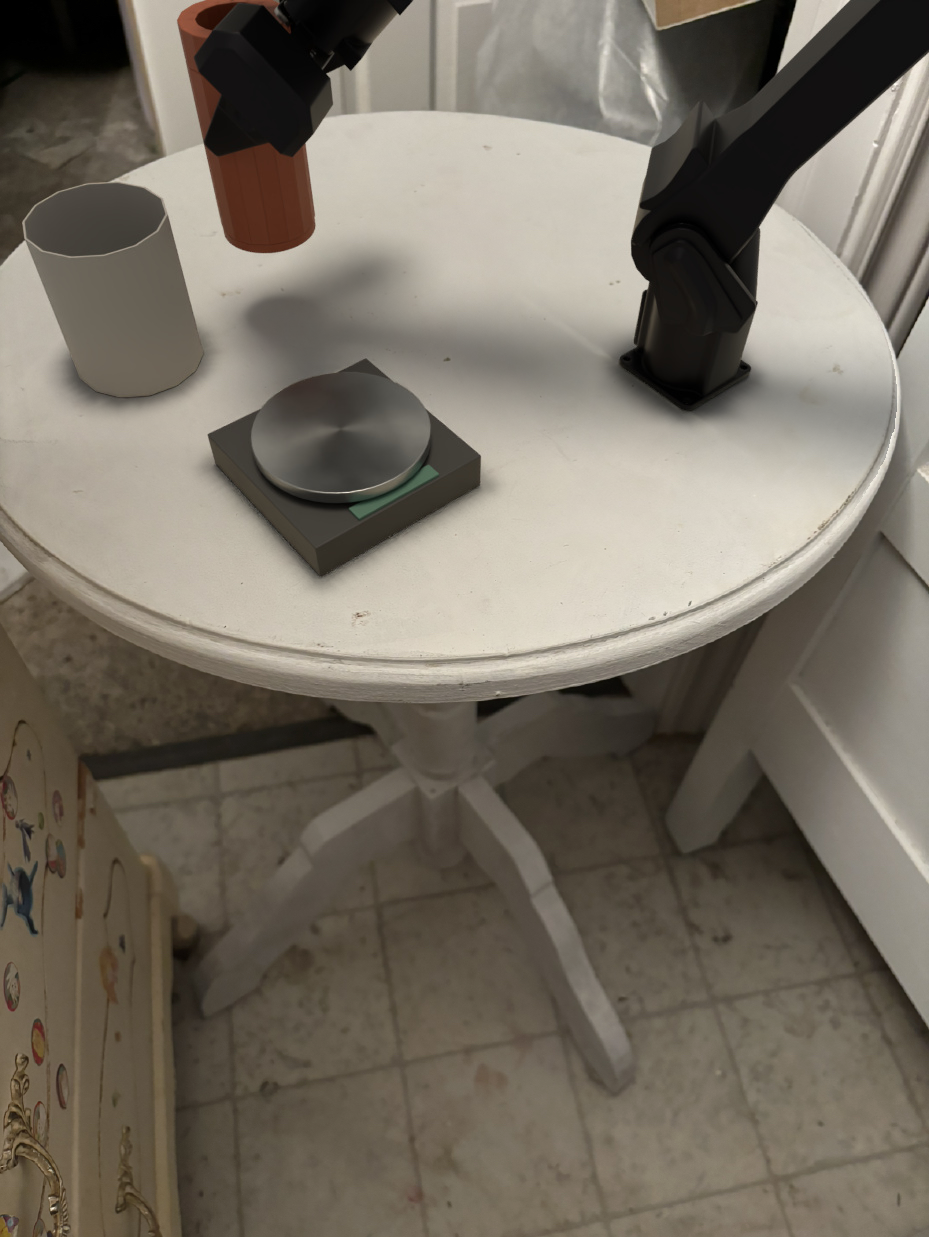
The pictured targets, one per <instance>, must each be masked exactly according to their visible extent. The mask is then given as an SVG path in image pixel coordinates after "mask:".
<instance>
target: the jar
mask: <svg viewBox="0 0 929 1237" xmlns="http://www.w3.org/2000/svg"><path fill="white" fill-rule="evenodd" d="M238 3H247V4H258V5H264V6H265V8H266V9H267V10H268V11H269V12H270V13H271V14H272V15H273V16H274V17H275V18H276V20H277V21H278V22H279V23H280V24H281V25H282V26H283V27H284V28H285V29H286V30H287V32H288V33H289V34H290V33H291V30H290V26H289V27H287V26H286V25H285V24H284V23H283V22H282V21H281V20H280V19H279V18H278V17H277V16H276V14H275V12H274V10H275V9H276V7H277V6H278V5H279V4H280V3H279V1H278V2H277V1H276V0H201V1H199V2H194V3H192V4H191V5H190V6H188V7H186V8H185V9H183V10H182V11H180V13H179V15H178V17H177V19H176V24H177V27H178V32H179V36H180V42H181V46H182V51H183V55H184V59H185V65H186V70H187V74H188V78H189V83H190V88H191V92H192V97H193V101H194V106H195V110H196V114H197V115H196V116H197V119H198V124H199V129H200V133H201V138H202V143H204V138H205V136H206V133H207V130H208V128H209V125H210V122H211V120H212V117H213V114H214V112H215V109H216V106H217V103H218V101H219V98H220V95H221V94H220V93H219V92H218V91H217V90H216V89H215V88H214V87H213V86H212V85H211V84H210V83H209V82H208V81H207V80H206V79H205V78H204V77H203V76H202V75H201V74H200V73H199V72H198V69H197V66H196V63H195V60H194V56H195V54H196V53H197V52H198V50H199V49H200V47H201V46H202V45H203V43H204V42H205V40H206V39H207V38H208V36H209V35H210V33H211V32H212V31H213V29H214V28H215V27H216V26H217V25H218V24H219V23H220V22H221V21H222V20H223V19H224V18H225V16H226V15H227V14H228V13H229V12H230V11H231V10H232V9H233V8H234V7H235V6H236V5H237V4H238ZM306 143H307V142H306ZM306 143H305V144H304V145H303V146H302V147H301V149H300V150H299V151H298V152H297V153H296V154H295V155H294V156H293V157H289V156H286V155H282V154H280V153H279V152H278V151H277V150H276V149H275V148H274V147H273V146H272V145H271V144H270V143H267V144H263V145H259V146H255V147H252V148H248V149H245V150H241V151H238V152H234V153H231V154H227V155H224V156H220V157H217V156H215V155H214V154H213V153H212V152H211V151H210V150H209V149H208V148H207V147H206V146H205V145H204V144H203V146H204V147H203V148H204V151H205V156H206V160H207V165H208V170H209V173H210V179H211V183H212V187H213V192H214V197H215V201H216V206H217V210H218V215H219V219H220V224H221V227H222V230H223V231H222V232H223V234H224V238H225V239H226V240H227V242H228V243H229V244H230V245H231V246H233V247H234V248H236V249H238V250H242V251H244V252H248V253H253V254H276V253H281V252H285V251H289V250H292V249H295V248H297V247H299V246H301V245H303V244H305V243H306V242H308V240H309V239H310V238H312V236H313V235H314V233H315V230H316V226H317V225H316V211H315V203H314V196H313V188H312V181H311V175H310V167H309V166H310V165H309V159H308V158H309V157H308V151H307V144H306Z"/></svg>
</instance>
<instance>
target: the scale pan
mask: <svg viewBox="0 0 929 1237" xmlns="http://www.w3.org/2000/svg"><path fill="white" fill-rule="evenodd" d="M336 372H337V373H336ZM336 372H329V373H322V374H318V375H313V376H310V377H306V378H303V379H301V380H298V381H296V382H293V383H292V384H289V385H288V386H285V387H284V388H282V389H280V390H279V391H277V392H276V393H275V394H274V395H272V396H271V397H270V398H269V399H267V401H266V402H265V403H264V404H263V405H262V406H261V407H260V408H259V409H260V411H259V412H258V414H257V415H256V418H255V420H254V422H253V425H252V429H251V447H252V451H253V455H254V458H255V461H256V464H257V466H258V467H259V469H260V471H261V472H262V473H263V475H264V476H265V477H266V478H267V479H268V480H269V481H270V482H271V483H272V484H274V485H275V486H277V487H278V488H280V489H281V490H283V491H285V492H287V493H289V494H291V495H293V496H296V497H299V498H302V499H306V500H310V501H315V502H323V503H350V502H356V501H363V500H366V499H370V498H374V497H377V496H380V495H382V494H385V493H387V492H389V491H391V490H393V489H395V488H397V487H399V486H400V485H402V484H403V483H405V482H406V481H407V480H409V479H410V478H411V477H412V476H413V475H414V474H415V473H416V472H417V471H418V470H419V469H420V467H421V466H422V464H423V463H424V461H425V459H426V457H427V455H428V453H429V449H430V446H431V424H430V419H429V415H428V413H427V411H426V409H427V408H426V407H425V405H424V404H423V403H422V401H421V400H420V398H418V397H417V396H416V394H414V392H412V391H411V390H409V389H408V388H407V387H405V386H403V385H402V384H400V383H398V382H396V381H394V380H392V379H391V380H392V381H391V380H389V379H386V378H383V377H380V376H376V375H371V374H366V373H357V372H338V371H336Z"/></svg>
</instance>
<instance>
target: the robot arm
mask: <svg viewBox="0 0 929 1237" xmlns="http://www.w3.org/2000/svg"><path fill="white" fill-rule="evenodd" d="M413 2H414V0H278V3H280V4H279V5H278V6H277V7H276V9H275V10H274V12H275V14H276V16H277V17H278V18H279V19H280V20H281V21H282V22H283V23H284V24H285V25H286V26H287V27H289V26H290V30H291V33H290V34H289V33H288V32H287V30H286V29H285V28H284V27H283V26H282V25H281V24H280V23H279V22H278V21H277V20H276V18H275V17H274V16H273V15H272V14H271V13H270V12H269V11H268V10H267V9H266V8H265V6H264V5H258V4H247V3H238V4H237V5H236V6H235V7H234V8H233V9H232V10H231V11H230V12H229V13H228V14H227V15H226V16H225V18H224V19H223V20H222V21H221V22H220V23H219V24H218V25H217V26H216V27H215V28H214V29H213V31H212V32H211V33H210V35H209V36H208V38H207V39H206V40H205V42H204V43H203V45H202V46H201V47H200V49H199V50H198V52H197V53H196V54H195V56H194V60H195V63H196V66H197V69H198V72H199V73H200V74H201V75H202V76H203V77H204V78H205V79H206V80H207V81H208V82H209V83H210V84H211V85H212V86H213V87H214V88H215V89H216V90H217V91H218V92H219V93H220V94H221V95H220V98H219V101H218V103H217V106H216V109H215V112H214V114H213V117H212V120H211V122H210V125H209V128H208V130H207V133H206V136H205V138H204V142H203V146H204V145H205V146H206V147H207V148H208V149H209V150H210V151H211V152H212V153H213V154H214V155H215V156H217V157H220V156H224V155H227V154H231V153H234V152H238V151H241V150H245V149H248V148H252V147H255V146H259V145H263V144H267V143H270V144H271V145H272V146H273V147H274V148H275V149H276V150H277V151H278V152H279V153H280V154H282V155H286V156H289V157H293V156H294V155H295V154H296V153H297V152H298V151H299V150H300V149H301V147H302V146H303V145H304V144H305V143H307V142H308V141H309V140H310V139H311V137H312V136H313V135H314V134H315V133H316V131H317V130H318V128H319V127H320V126H321V124H322V122H323V121H324V120H325V118H326V116H327V115H328V113H329V112H330V110H332V107H333V106H334V100H333V92H332V90H333V89H332V81H331V77H330V76H329V75H328V74H329V73H332V72H333V71H335V70H337V69H339V68H341V67H344V66H345V67H346V68H347V69H348V70H349V71H350V72H352V70H354V68H355V67H356V66H357V65H358V64H359V62H360V61H361V60H362V59H363V58H364V56H365V55H366V54H367V52H368V50H369V49H370V47H371V46H372V44H373V42H374V41H375V40H376V39H377V38H378V37H379V36H380V34H381V33H382V32H383V31H384V30H385V29H386V27H387V26H388V25H389V24H390V23H391V22H392V21H393V20H394V19H395V17H396V16H397V15H398V16H401V15H402V14H403V13H404V12H405V11H406V9H407V8H408V7H409V6H410V5H411V4H412V3H413ZM928 54H929V0H849V1H848V2H846V4H844V5H843V7H841V9H840V10H839V11H838V12H837V13H835V15H834V16H832V17H831V18H830V19H829V21H828V22H827V23H826V24H824V26H823V27H822V28H821V29H819V31H817V33H815V35H813V37H812V38H811V39H810V40H809V41H808V42H807V43H806V44H804V45H803V47H802V48H801V49H799V51H798V52H797V53H796V54H795V55H794V56H793V57H791V59H790V60H789V61H788V62H787V63H786V64H785V65H784V66H783V67H782V68H781V69H780V70H778V72H777V73H776V74H775V75H774V76H772V78H771V79H770V80H769V81H768V82H767V83H766V84H765V85H764V86H763V87H761V89H760V90H759V91H758V92H757V93H756V94H755V95H754V96H753V97H752V98H751V99H749V100H748V101H747V102H746V103H744V104H742V105H740V106H739V107H737V108H734V109H733V110H730V111H729V112H726V113H723V114H722V115H721V114H720V115H719V116H717V117H715V115H713V113H712V111H711V110H710V109H709V107H708V105H707V104H706V102H705V101H703V100H699V101H698V102H697V103H696V104H695V105H694V106H693V108H692V109H691V110H690V112H689V113H688V115H687V116H686V118H685V119H684V121H683V122H682V124H681V125H680V126H679V127H678V129H677V130H676V131H675V132H674V133H673V134H672V135H671V136H669V137H668V138H667V139H666V140H665V141H663V142H661V143H658V144H657V145H654V146H653V147H651V150H650V154H649V159H648V163H647V169H646V173H645V176H644V179H643V182H642V187H641V191H640V194H639V195H640V196H639V200H638V206H637V209H636V215H635V218H634V223H633V228H632V234H631V238H630V256H631V258H632V261H633V264H634V266H635V269H636V270H637V271H638V273H639V274H640V275H641V276H642V277H643V278H644V279H645V280H646V281H647V282H648V285H647V289H645V290H643V291H642V293H641V297H640V298H641V299H640V304H639V309H638V314H637V320H636V326H635V331H634V335H633V336H634V337H633V344H634V345H635V346H636V347H634V348H633V349H631V350H629V351H627V352H625V353H623V354H622V355H620V357H619V359H618V360H619V361H618V366H619V367H621V368H622V369H623V370H625V371H626V372H628V373H629V374H631V375H632V376H634V377H635V378H636V379H637V380H639V381H641V382H642V383H643V384H645V385H646V386H648V387H649V388H651V389H652V390H653V391H655V392H656V393H658V394H659V395H660V396H662V397H663V398H665V399H666V400H668V401H669V402H671V403H672V404H673V405H674V406H676V407H677V408H679V410H682V411H686V412H691V411H693V410H694V409H696V408H698V407H699V406H701V405H703V404H704V403H706V402H707V401H709V400H710V399H711V400H712V399H713V398H715V397H716V396H718V395H719V394H720V393H722V392H724V391H726V390H728V389H729V388H731V387H732V386H734V385H735V384H738V383H739V382H740V381H742V380H744V379H746V378H747V377H749V376H750V374H751V370H752V367H751V365H750V364H749V363H747V362H745V361H744V360H742V357H743V354H744V350H745V347H746V344H747V341H748V338H749V334H750V331H751V327H752V325H753V324H752V323H753V321H754V318H755V314H756V311H757V307H758V305H759V302H758V300H757V296H758V295H757V294H758V277H759V262H760V246H761V228H760V226H762V223H763V222H764V220H765V219H766V217H767V216H768V214H769V212H771V211H770V210H771V209H772V207H773V206H774V205H775V202H776V201H777V200H778V198H779V196H780V194H781V193H782V192H783V190H784V189H785V186H786V185H787V184H788V182H789V181H790V180H791V178H792V177H793V176H794V175H795V174H796V173H797V171H799V170H800V169H801V168H802V167H803V166H805V165H806V163H808V162H809V161H810V160H811V159H812V158H813V157H814V156H816V154H818V153H819V152H820V151H821V150H822V149H823V148H824V147H826V146H827V145H828V144H829V143H830V142H831V141H832V140H833V139H834V138H835V137H837V136H838V135H839V134H840V133H841V132H842V131H843V130H844V129H845V128H846V127H848V126H849V125H850V124H851V123H852V122H853V121H855V119H857V118H858V117H859V116H860V115H861V114H863V112H864V111H865V110H867V109H868V108H869V107H870V106H871V105H872V104H873V103H875V101H877V100H878V99H879V98H881V96H882V95H883V94H885V93H886V92H887V91H888V90H889V89H890V88H891V87H892V86H894V84H896V83H897V82H898V81H899V80H900V79H901V78H903V77H904V76H905V75H906V74H907V73H908V72H910V70H912V68H914V67H915V66H916V65H917V64H918V63H919V62H920V61H921V60H923V58H925V57H926V56H927V55H928Z"/></svg>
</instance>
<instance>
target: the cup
mask: <svg viewBox="0 0 929 1237" xmlns="http://www.w3.org/2000/svg"><path fill="white" fill-rule="evenodd" d="M21 223H22V230H23V238H24V241H25V243H26V246H27V249H28V251H29V254H30V256H31V259H32V261H33V264H34V266H35V269H36V271H37V274H38V277H39V279H40V281H41V284H42V286H43V289H44V291H45V294H46V296H47V299H48V302H49V304H50V307H51V309H52V311H53V314H54V317H55V319H56V321H57V324H58V327H59V329H60V331H61V334H62V336H63V339H64V342H65V344H66V346H67V349H68V352H69V354H70V357H71V360H72V362H73V364H74V367H75V369H76V372H77V375H78V377H79V379H80V380H81V381H83V382H84V383H85V384H86V385H87V386H88V387H90V388H91V389H92V390H93V391H94V392H97V393H101V394H105V395H109V396H113V397H117V398H135V397H149V396H152V395H155V394H157V393H158V394H159V393H160V392H163V391H164V392H165V391H167V390H170V389H172V388H174V387H175V388H176V387H177V386H178V385H180V384H181V383H183V382H184V381H185V380H187V378H188V377H190V376H191V375H193V374H194V373H195V372H196V371H197V369H198V368H199V365H200V363H201V360H202V358H203V355H204V353H205V352H204V349H203V344H202V341H201V337H200V333H199V329H198V326H197V322H196V318H195V314H194V310H193V306H192V301H191V298H190V295H189V290H188V286H187V283H186V279H185V274H184V270H183V267H182V264H181V260H180V255H179V251H178V249H177V244H176V240H175V237H174V232H173V228H172V224H171V220H170V216H169V213H168V210H167V207H166V203H165V200H164V198H163V197H162V196H161V195H159V194H157V193H156V192H154V191H152V190H151V189H149V188H148V187H146V186H142V185H137V184H133V183H127V182H123V181H122V182H121V181H106V182H88V183H84V184H83V183H82V184H80V185H76V186H73V187H69V188H65V189H62V190H58V191H56V192H54V193H53V194H51V195H49V196H48V197H46V198H44V199H43V200H40V201H39V202H37V203H35V204H34V205H33V206H32V207H31V209H30V210H29V212H28V213H27V215H26V216H25V217H24V219H23V220H22V222H21Z"/></svg>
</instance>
